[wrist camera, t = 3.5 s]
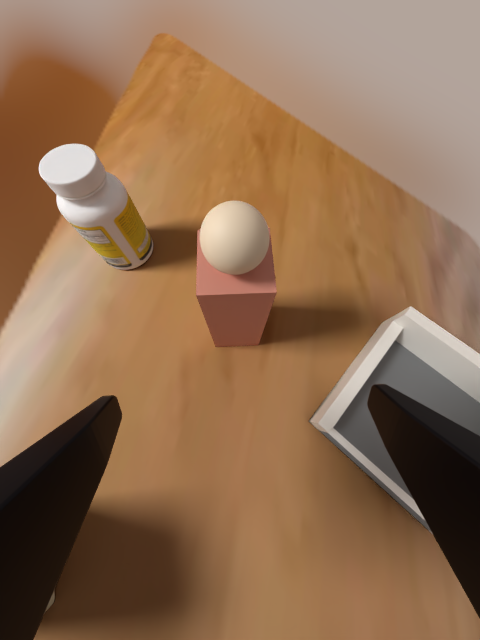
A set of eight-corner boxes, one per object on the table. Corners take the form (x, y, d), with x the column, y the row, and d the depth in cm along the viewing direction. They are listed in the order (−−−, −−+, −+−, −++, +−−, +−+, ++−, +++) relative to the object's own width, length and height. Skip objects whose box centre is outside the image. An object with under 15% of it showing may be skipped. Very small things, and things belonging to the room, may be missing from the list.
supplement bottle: (142, 222, 27) (93, 127, 18) (162, 257, 25) (119, 173, 16) (96, 242, 26) (18, 152, 17) (114, 279, 24) (38, 203, 15)
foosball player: (258, 345, 22) (290, 253, 9) (215, 346, 22) (181, 257, 9) (255, 305, 23) (278, 174, 10) (215, 307, 23) (185, 177, 10)
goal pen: (440, 541, 17) (496, 579, 13) (308, 421, 20) (325, 424, 16) (503, 411, 20) (564, 412, 17) (382, 322, 23) (410, 306, 19)
